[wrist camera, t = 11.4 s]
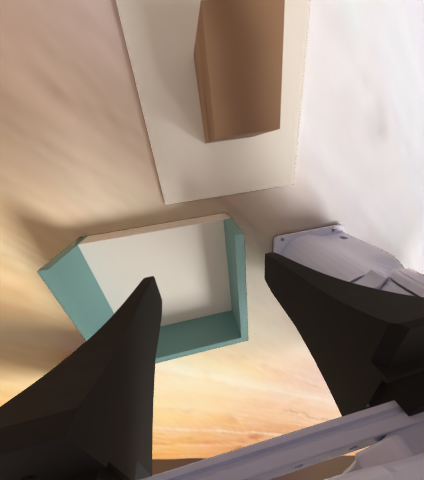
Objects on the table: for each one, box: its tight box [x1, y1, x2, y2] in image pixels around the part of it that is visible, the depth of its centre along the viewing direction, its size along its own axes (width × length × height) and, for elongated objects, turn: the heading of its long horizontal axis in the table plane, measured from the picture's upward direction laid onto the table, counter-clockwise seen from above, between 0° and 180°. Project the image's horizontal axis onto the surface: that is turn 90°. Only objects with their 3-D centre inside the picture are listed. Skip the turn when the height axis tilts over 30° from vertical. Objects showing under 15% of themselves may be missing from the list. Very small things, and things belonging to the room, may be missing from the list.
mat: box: [116, 0, 311, 205], centre depth 15 cm, size 14×16×1 cm
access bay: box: [37, 213, 248, 363], centre depth 19 cm, size 16×14×6 cm
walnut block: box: [194, 0, 285, 144], centre depth 12 cm, size 4×6×5 cm
